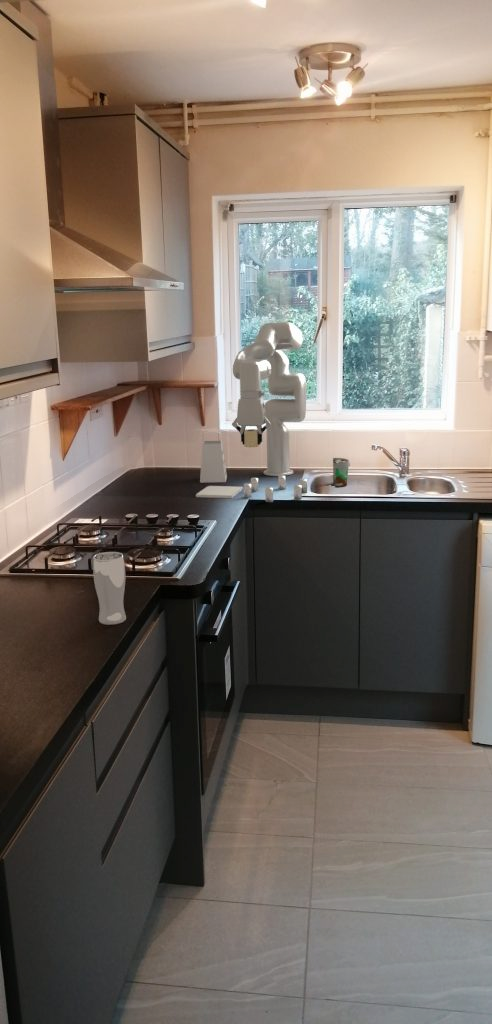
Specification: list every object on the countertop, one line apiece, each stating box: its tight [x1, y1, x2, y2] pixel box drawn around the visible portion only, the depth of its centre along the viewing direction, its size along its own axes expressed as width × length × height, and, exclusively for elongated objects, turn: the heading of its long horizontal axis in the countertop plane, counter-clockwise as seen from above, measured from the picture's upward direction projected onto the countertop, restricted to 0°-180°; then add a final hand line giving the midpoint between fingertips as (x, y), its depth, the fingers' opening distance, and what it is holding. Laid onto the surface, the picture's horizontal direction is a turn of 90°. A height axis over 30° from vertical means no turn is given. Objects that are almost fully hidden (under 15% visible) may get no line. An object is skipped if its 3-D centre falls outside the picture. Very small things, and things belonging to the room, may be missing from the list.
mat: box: [195, 485, 244, 499], centre depth 312 cm, size 16×14×1 cm
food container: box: [332, 457, 351, 489], centre depth 319 cm, size 12×6×10 cm, turn 179°
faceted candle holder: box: [243, 428, 260, 448], centre depth 303 cm, size 6×5×6 cm
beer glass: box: [92, 551, 127, 626], centre depth 181 cm, size 7×7×15 cm
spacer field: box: [243, 476, 308, 503], centre depth 306 cm, size 25×22×5 cm
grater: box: [199, 430, 228, 483], centre depth 335 cm, size 10×10×20 cm
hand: (251, 443), depth 304 cm, fingers closed on faceted candle holder, 5 cm apart
